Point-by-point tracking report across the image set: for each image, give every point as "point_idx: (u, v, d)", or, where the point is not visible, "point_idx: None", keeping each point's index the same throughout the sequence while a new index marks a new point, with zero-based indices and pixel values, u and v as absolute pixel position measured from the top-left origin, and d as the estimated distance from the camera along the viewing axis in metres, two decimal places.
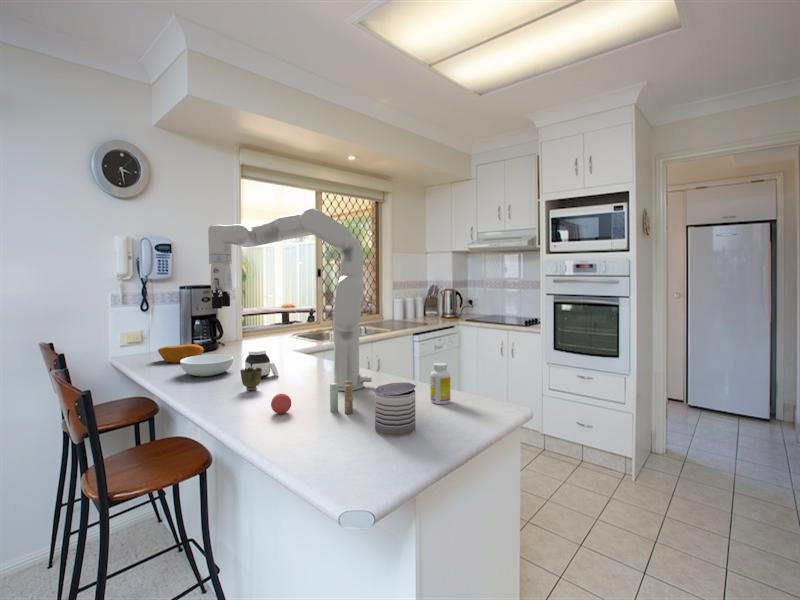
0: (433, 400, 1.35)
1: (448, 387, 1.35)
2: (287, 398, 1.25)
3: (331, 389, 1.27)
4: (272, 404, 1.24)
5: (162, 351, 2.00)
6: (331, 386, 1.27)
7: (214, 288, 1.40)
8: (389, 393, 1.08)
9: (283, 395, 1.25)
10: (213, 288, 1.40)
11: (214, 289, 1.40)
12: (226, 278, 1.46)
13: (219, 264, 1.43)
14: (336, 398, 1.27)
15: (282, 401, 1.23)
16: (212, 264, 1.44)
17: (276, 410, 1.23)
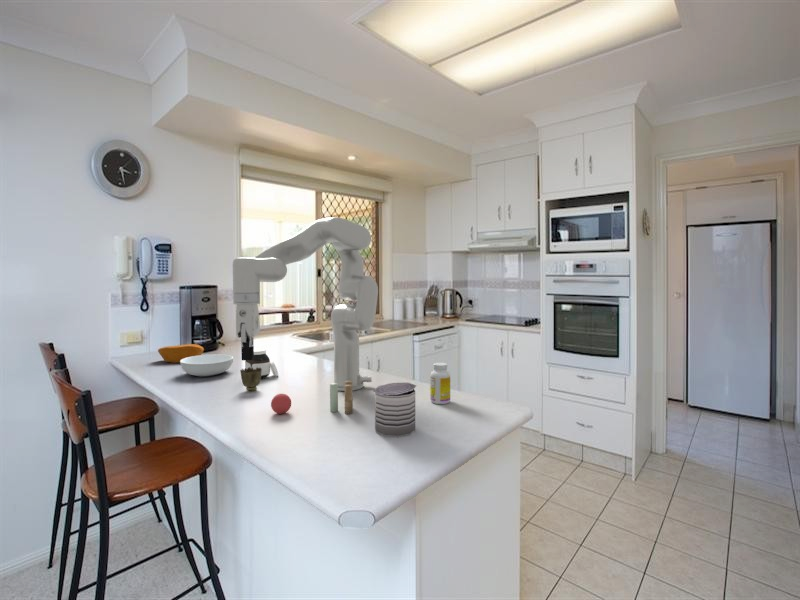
0: (433, 400, 1.35)
1: (448, 387, 1.35)
2: (287, 398, 1.25)
3: (331, 389, 1.27)
4: (272, 404, 1.24)
5: (162, 351, 2.00)
6: (331, 386, 1.27)
7: (245, 342, 1.19)
8: (389, 393, 1.08)
9: (283, 395, 1.25)
10: (243, 342, 1.20)
11: (245, 342, 1.20)
12: (254, 322, 1.21)
13: (246, 305, 1.19)
14: (336, 398, 1.27)
15: (282, 401, 1.23)
16: (238, 305, 1.19)
17: (276, 410, 1.23)
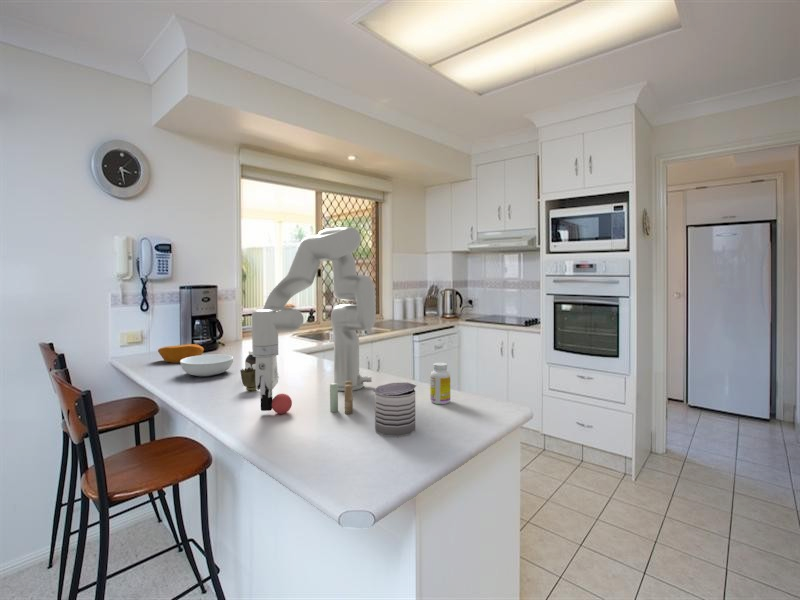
0: (433, 400, 1.35)
1: (448, 387, 1.35)
2: (288, 398, 1.25)
3: (331, 389, 1.27)
4: (273, 404, 1.24)
5: (162, 351, 2.00)
6: (331, 386, 1.27)
7: (264, 394, 1.21)
8: (389, 393, 1.08)
9: (284, 395, 1.25)
10: (263, 394, 1.21)
11: (264, 394, 1.22)
12: (273, 373, 1.23)
13: (265, 359, 1.20)
14: (336, 398, 1.27)
15: (282, 401, 1.23)
16: (257, 358, 1.20)
17: (277, 410, 1.23)
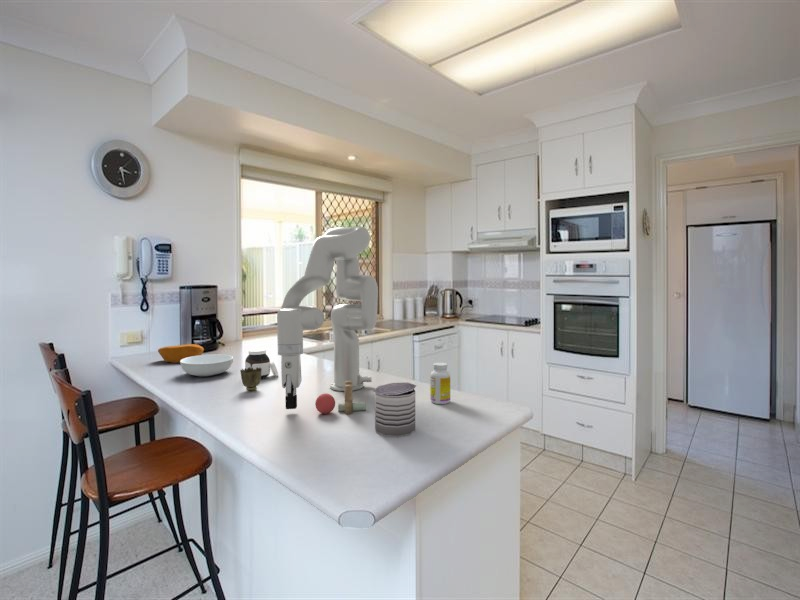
0: (433, 400, 1.35)
1: (448, 387, 1.35)
2: (316, 402, 1.25)
3: (361, 404, 1.28)
4: (327, 412, 1.25)
5: (162, 351, 2.00)
6: (364, 404, 1.28)
7: (290, 393, 1.22)
8: (389, 393, 1.08)
9: None
10: None
11: (290, 393, 1.22)
12: (298, 372, 1.23)
13: (291, 357, 1.21)
14: None
15: (319, 407, 1.23)
16: (283, 357, 1.21)
17: (330, 407, 1.24)
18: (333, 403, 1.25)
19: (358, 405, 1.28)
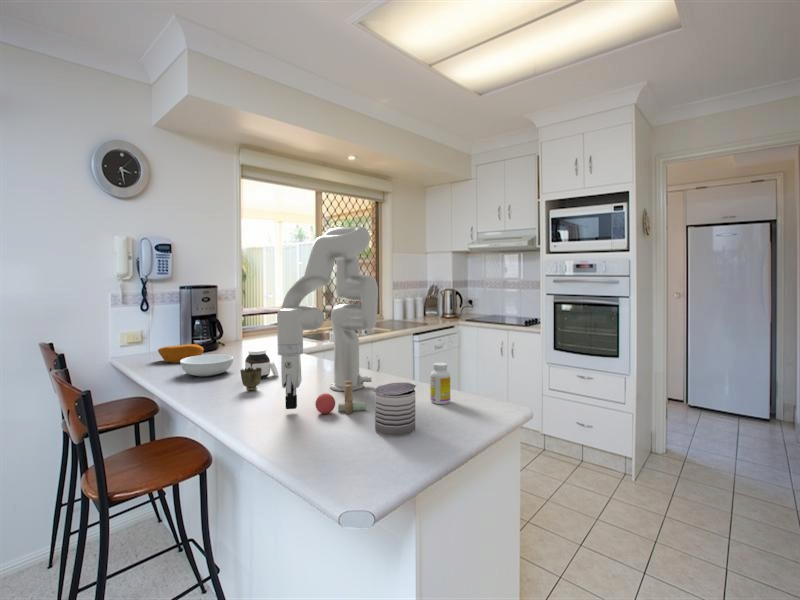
0: (433, 400, 1.35)
1: (448, 387, 1.35)
2: (316, 402, 1.25)
3: (361, 404, 1.28)
4: (327, 412, 1.25)
5: (162, 351, 2.00)
6: (364, 405, 1.28)
7: (290, 393, 1.22)
8: (389, 393, 1.08)
9: None
10: None
11: (290, 393, 1.22)
12: (298, 372, 1.23)
13: (291, 357, 1.21)
14: None
15: (319, 407, 1.23)
16: (283, 357, 1.21)
17: (330, 407, 1.24)
18: (333, 403, 1.25)
19: (358, 405, 1.28)
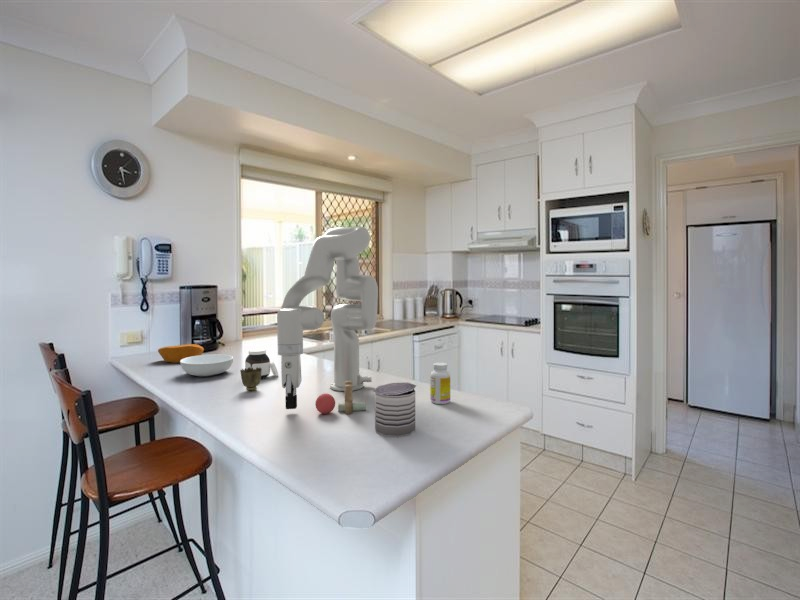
0: (433, 400, 1.35)
1: (448, 387, 1.35)
2: (316, 402, 1.25)
3: (361, 404, 1.28)
4: (327, 412, 1.25)
5: (162, 351, 2.00)
6: (364, 405, 1.28)
7: (290, 393, 1.22)
8: (389, 393, 1.08)
9: None
10: None
11: (290, 393, 1.22)
12: (298, 372, 1.23)
13: (291, 357, 1.21)
14: None
15: (319, 407, 1.23)
16: (283, 357, 1.21)
17: (330, 407, 1.24)
18: (333, 403, 1.25)
19: (358, 405, 1.28)
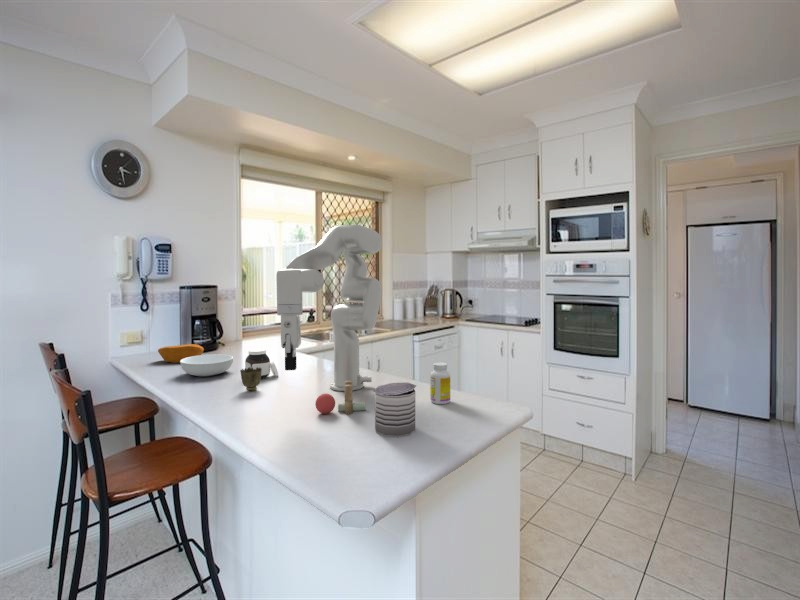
0: (433, 400, 1.35)
1: (448, 387, 1.35)
2: (316, 402, 1.25)
3: (361, 405, 1.28)
4: (327, 412, 1.25)
5: (162, 351, 2.00)
6: (364, 405, 1.28)
7: (289, 353, 1.21)
8: (389, 393, 1.08)
9: None
10: (288, 353, 1.21)
11: (289, 353, 1.22)
12: (298, 332, 1.23)
13: (291, 317, 1.21)
14: None
15: (319, 407, 1.23)
16: (282, 317, 1.21)
17: (330, 407, 1.24)
18: (333, 403, 1.25)
19: (358, 405, 1.28)
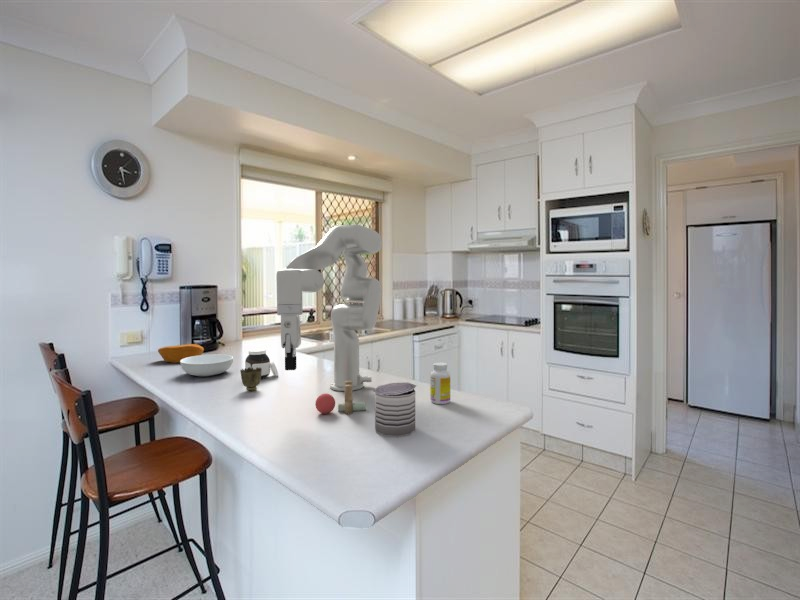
0: (433, 400, 1.35)
1: (448, 387, 1.35)
2: (316, 402, 1.25)
3: (361, 404, 1.28)
4: (327, 412, 1.25)
5: (162, 351, 2.00)
6: (364, 405, 1.28)
7: (289, 353, 1.21)
8: (389, 393, 1.08)
9: None
10: (288, 353, 1.21)
11: (289, 353, 1.22)
12: (298, 332, 1.23)
13: (291, 317, 1.21)
14: None
15: (319, 407, 1.23)
16: (282, 317, 1.21)
17: (330, 407, 1.24)
18: (333, 403, 1.25)
19: (358, 405, 1.28)
